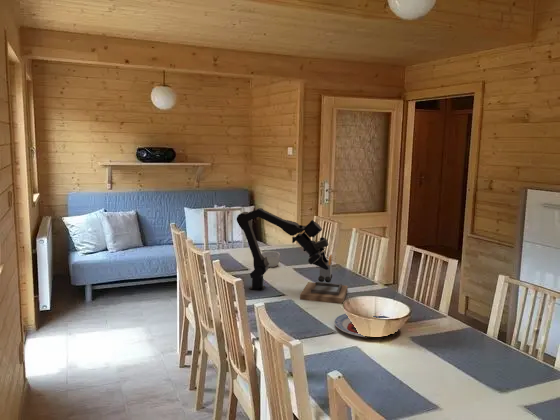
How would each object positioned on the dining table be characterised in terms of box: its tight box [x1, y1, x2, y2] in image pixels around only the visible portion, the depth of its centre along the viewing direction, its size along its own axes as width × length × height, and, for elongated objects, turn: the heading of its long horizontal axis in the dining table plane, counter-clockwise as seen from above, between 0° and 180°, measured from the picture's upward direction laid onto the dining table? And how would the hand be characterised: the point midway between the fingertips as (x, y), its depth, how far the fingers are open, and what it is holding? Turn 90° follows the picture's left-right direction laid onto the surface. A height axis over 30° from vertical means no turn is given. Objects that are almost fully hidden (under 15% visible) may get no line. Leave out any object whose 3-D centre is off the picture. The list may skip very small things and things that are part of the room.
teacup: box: [261, 250, 281, 268], centre depth 281 cm, size 14×11×8 cm
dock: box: [299, 281, 349, 304], centre depth 231 cm, size 20×20×4 cm
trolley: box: [317, 254, 333, 283], centre depth 231 cm, size 6×6×12 cm
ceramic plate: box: [334, 313, 390, 338], centre depth 191 cm, size 26×26×3 cm
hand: (328, 267), depth 230 cm, fingers closed on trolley, 6 cm apart
